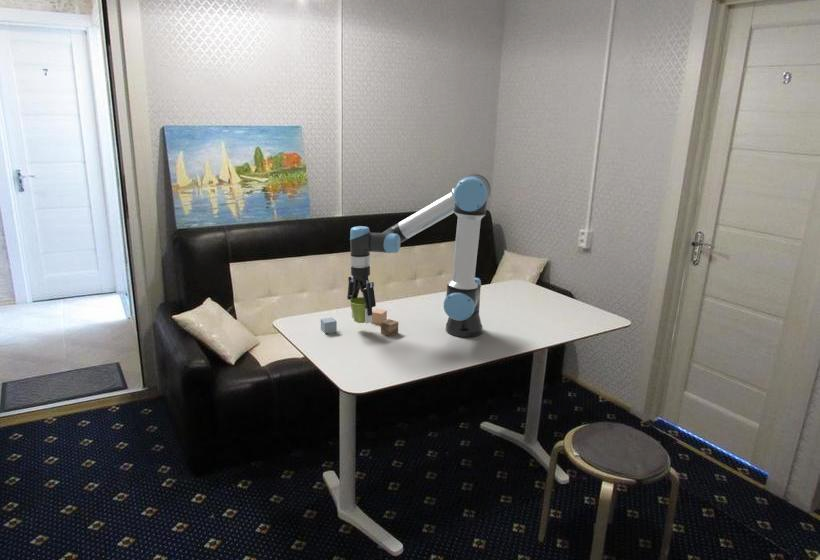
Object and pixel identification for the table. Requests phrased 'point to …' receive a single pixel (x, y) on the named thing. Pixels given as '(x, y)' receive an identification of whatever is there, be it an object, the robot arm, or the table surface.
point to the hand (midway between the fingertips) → (361, 319)
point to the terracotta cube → (379, 316)
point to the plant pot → (358, 309)
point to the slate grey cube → (328, 325)
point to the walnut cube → (389, 327)
